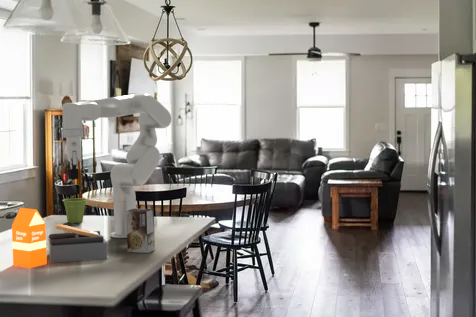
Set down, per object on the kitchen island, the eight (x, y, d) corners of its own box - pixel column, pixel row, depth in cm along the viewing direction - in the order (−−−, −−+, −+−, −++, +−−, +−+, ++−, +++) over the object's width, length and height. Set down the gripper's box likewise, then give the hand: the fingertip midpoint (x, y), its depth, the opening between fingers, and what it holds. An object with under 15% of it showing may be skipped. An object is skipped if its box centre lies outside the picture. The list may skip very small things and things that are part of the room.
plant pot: (84, 224, 320) (83, 201, 320) (60, 224, 321) (59, 201, 320) (90, 220, 332) (89, 198, 332) (66, 220, 332) (66, 198, 332)
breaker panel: (102, 250, 257) (102, 228, 256) (107, 258, 242) (107, 235, 241) (49, 254, 251) (48, 231, 250) (50, 262, 235) (49, 239, 235)
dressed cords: (99, 235, 255) (99, 230, 255) (103, 242, 242) (103, 236, 242) (48, 239, 249) (48, 233, 249) (49, 245, 236) (49, 240, 236)
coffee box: (155, 250, 256) (154, 208, 255) (147, 253, 250) (147, 211, 249) (134, 248, 259) (133, 208, 258) (126, 252, 253) (125, 210, 252)
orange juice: (29, 268, 228) (27, 210, 226) (12, 265, 232) (10, 209, 231) (47, 263, 234) (45, 208, 233) (30, 261, 239) (28, 206, 238)
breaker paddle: (97, 235, 251) (98, 232, 251) (98, 238, 245) (99, 235, 245) (55, 226, 246) (56, 222, 246) (55, 228, 240) (56, 225, 240)
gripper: (84, 133, 258) (85, 180, 260) (80, 133, 272) (82, 177, 274) (64, 134, 256) (65, 181, 257) (62, 133, 270) (63, 177, 271)
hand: (74, 179), depth 265 cm, fingers closed
